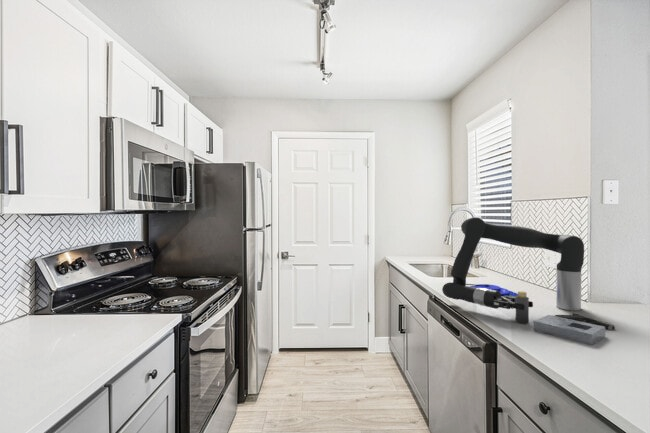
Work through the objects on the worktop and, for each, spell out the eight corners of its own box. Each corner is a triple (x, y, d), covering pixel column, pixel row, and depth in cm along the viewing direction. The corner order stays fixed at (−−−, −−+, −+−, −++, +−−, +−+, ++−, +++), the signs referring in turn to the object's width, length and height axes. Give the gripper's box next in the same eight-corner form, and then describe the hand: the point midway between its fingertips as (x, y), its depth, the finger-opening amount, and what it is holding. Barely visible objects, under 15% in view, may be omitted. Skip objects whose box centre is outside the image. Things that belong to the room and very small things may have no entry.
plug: (518, 319, 143) (518, 290, 143) (530, 322, 139) (530, 292, 139) (513, 322, 140) (513, 292, 140) (525, 324, 136) (525, 294, 136)
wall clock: (533, 288, 179) (485, 292, 170) (533, 299, 179) (485, 303, 170) (489, 278, 207) (446, 281, 198) (489, 287, 207) (446, 290, 198)
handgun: (589, 327, 129) (617, 324, 131) (553, 314, 145) (577, 311, 147) (590, 333, 129) (617, 330, 131) (553, 320, 145) (577, 317, 147)
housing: (548, 323, 138) (548, 314, 138) (605, 336, 123) (605, 326, 123) (533, 330, 130) (533, 320, 130) (592, 345, 116) (592, 334, 116)
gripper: (478, 291, 147) (520, 299, 133) (495, 286, 155) (536, 294, 142) (478, 309, 147) (519, 318, 133) (495, 303, 155) (536, 312, 142)
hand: (528, 306), depth 138 cm, fingers open, 6 cm apart
